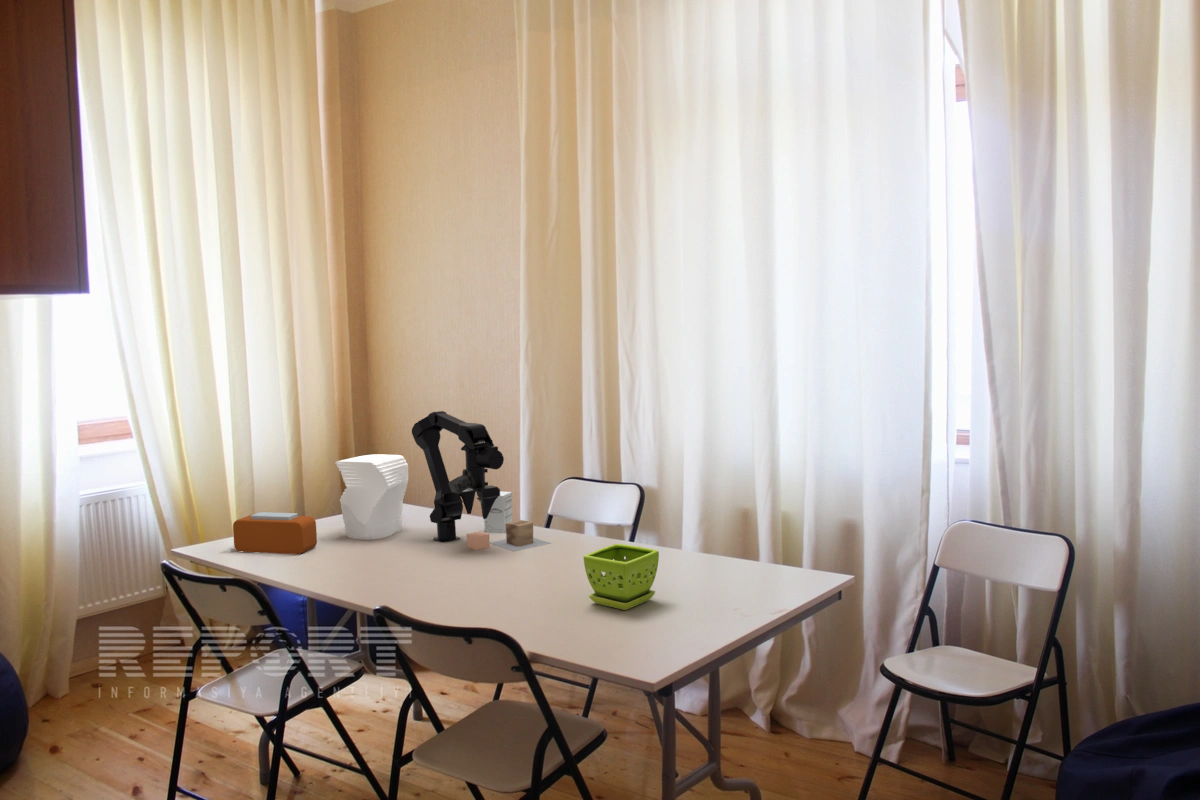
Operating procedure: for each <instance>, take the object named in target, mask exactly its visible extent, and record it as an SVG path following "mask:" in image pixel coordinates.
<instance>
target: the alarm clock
mask: <svg viewBox="0 0 1200 800" xmlns="http://www.w3.org/2000/svg"><path fill="white" fill-rule="evenodd" d="M232 530H233V531H232V533H233V546H234V549H235V550H236V551H237V552H239V551H243V552H242V553H255V552H259V554H260V553H261V554H281V555H282V554H284V555H301V554H303V553H306V552H308V551H310V550H312V549H314V548H315V547H316V546H317V543H318V538H317V534H318V533H317V520H316V519H315V517H312V516H311V515H309V516H308V515H298V512H296V513H295V512H293V513H292V512H270V511H269V512H267V511H263V512H262V511H259V512H257V513H254V514H250V515H247V516H244V517H242V518H239V519H236V520H235V521H234V522H233V525H232Z"/></svg>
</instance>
